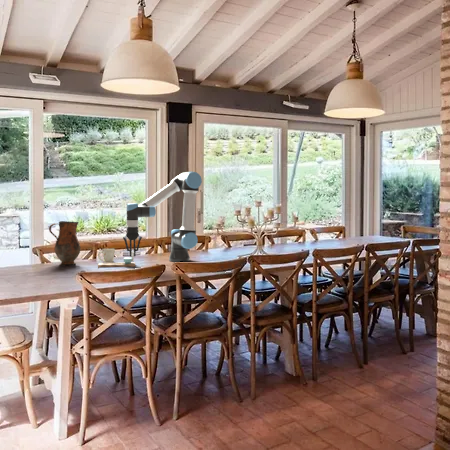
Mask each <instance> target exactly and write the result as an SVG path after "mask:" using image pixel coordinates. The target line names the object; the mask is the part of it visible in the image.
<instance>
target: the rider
mask: <svg viewBox="0 0 450 450" xmlns="http://www.w3.org/2000/svg"><path fill="white" fill-rule="evenodd" d="M131 262H132V258H131V257H123V263H125V264H131Z"/></svg>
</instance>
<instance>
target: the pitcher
mask: <svg viewBox="0 0 450 450" xmlns="http://www.w3.org/2000/svg"><path fill="white" fill-rule="evenodd" d="M78 224H79V222H78V221H66V220H64V221H63V220H61V221H58V227H59V228H58V229H59V231H58V235H56V234H55V233H53V232H52V228H53V226H55V225H56V223H51V224H50V226H49V227H48V231H49V233H50V234H51V235H52V236H53V237H55V239H56V241H55V243H54V254H55V255H56V257H57V259H58V260H60V261H61V263H59V266H60V267H71V266H76V265H77V263H76V262H75V260H76V259H78V257H79V255H80V253H81V244H80V241H79V239H78V235H77V228H78Z"/></svg>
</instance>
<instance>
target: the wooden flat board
mask: <svg viewBox="0 0 450 450" xmlns="http://www.w3.org/2000/svg"><path fill="white" fill-rule="evenodd" d="M122 267H123V268H124V267H125V268H127V267H129V268H130V267H132V268H133V267H136V262H135V261H134V262H131V264H125V262H111V263H105V262H99V263H97V269H100V268H122Z"/></svg>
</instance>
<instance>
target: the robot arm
mask: <svg viewBox="0 0 450 450" xmlns="http://www.w3.org/2000/svg"><path fill="white" fill-rule="evenodd" d="M202 182H203V180H202V175H200V173H198V172H196V171H193V170H192V171H191V170H190V171H183V172H181V173H180V174H179V175H177V176H175V177H174V178H172V180H170V183H169V184H167V185H166V186H164V187H162V188H161V189H160V190H159V191H157V192H156V193H154V194H153V195H152V196H150V197H149V198H147V199H145V201H143V202H142V203H140V204H138V203H135V202H134V203H131V202H130V203H127V204H126V226H127V227H126V234H125V236H123V237H122V239H123V240H124V241H123V242H124V244H125V248H126V251H127V252H129V258H132V262H135V257H136V252H138V251H139V248H140V244H141V240H142V239H143V236H141V235H140V234H139V218H155V216H156V213H157V210H156V207H157V206H159V205H160V204H161V203H162V202H164V201H166V200H167V199H168V198H170V197H172V196H173V195H174V194H175V193H177V192H180V191H182V192H183V205H182V218H181V219H182V220H181V221H182V223H181V227H180V228H179V229H172V230H171V233H170V234H171V235H170V237H171V238H170V239H171V244H170V245H171V246H170V247H171V251H170V254H169V257H168V260H169V262H174V263H181V262H180V261H183V263H185V262H189V261H191V258H190V253H189V251H188V250H190V249H194V248H195V247H196V246H197V245H198V241H199V240H198V236H197V233H196V232H197V230H196V228H195V215H196V204H197V203H196V201H197V193H199V191H200V186H201V185H202ZM127 239H128V240H129V243H128V241H127ZM137 239H138V241H137ZM132 241H133V243H132ZM136 241H137V243H136ZM128 244H129V245H128ZM136 244H137V245H136ZM132 245H133V248H132ZM132 250H133V251H132Z"/></svg>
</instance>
